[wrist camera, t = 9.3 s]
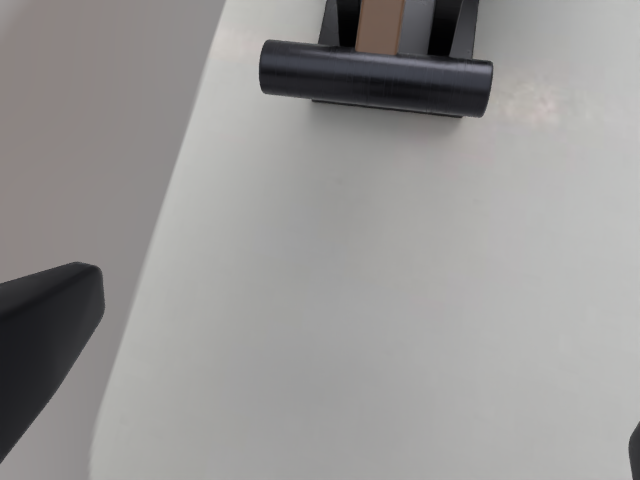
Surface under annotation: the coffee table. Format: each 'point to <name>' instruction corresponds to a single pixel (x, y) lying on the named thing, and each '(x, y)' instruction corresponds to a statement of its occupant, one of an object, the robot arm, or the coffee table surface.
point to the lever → (377, 70)
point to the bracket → (409, 30)
